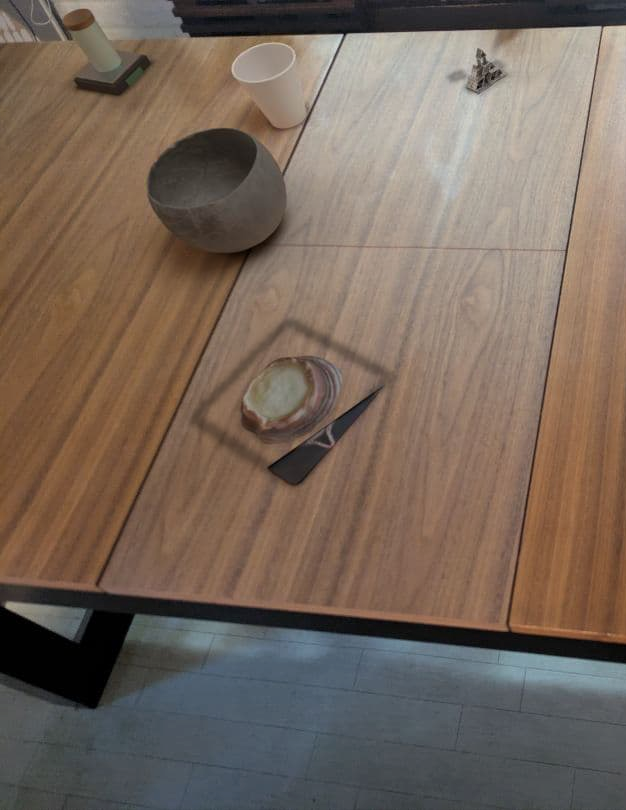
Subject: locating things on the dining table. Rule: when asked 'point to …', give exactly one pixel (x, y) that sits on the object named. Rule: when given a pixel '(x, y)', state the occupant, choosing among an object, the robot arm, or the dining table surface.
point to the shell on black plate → (297, 410)
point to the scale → (113, 74)
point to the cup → (272, 82)
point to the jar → (92, 40)
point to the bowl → (218, 190)
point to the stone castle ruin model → (483, 73)
